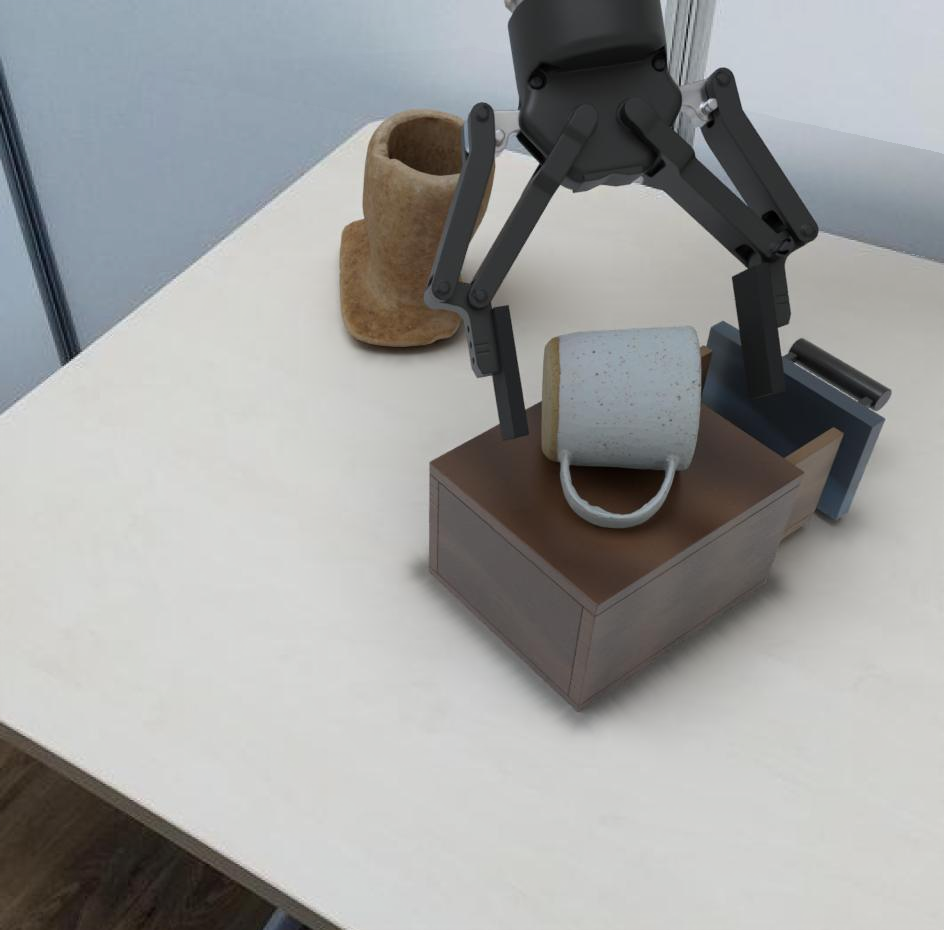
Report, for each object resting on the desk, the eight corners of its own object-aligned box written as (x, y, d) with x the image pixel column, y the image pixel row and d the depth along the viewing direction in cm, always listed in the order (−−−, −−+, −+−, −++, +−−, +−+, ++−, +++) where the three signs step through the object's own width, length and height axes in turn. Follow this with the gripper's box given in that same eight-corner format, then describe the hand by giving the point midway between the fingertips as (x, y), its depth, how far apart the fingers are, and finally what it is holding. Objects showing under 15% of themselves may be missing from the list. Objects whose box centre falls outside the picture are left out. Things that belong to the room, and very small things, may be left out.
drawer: (755, 381, 81) (781, 287, 75) (903, 475, 75) (945, 380, 69) (545, 504, 75) (556, 412, 69) (687, 620, 68) (713, 529, 62)
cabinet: (608, 468, 78) (627, 353, 70) (764, 587, 70) (805, 472, 63) (428, 574, 72) (428, 461, 65) (577, 715, 65) (597, 605, 57)
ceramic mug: (535, 405, 68) (545, 297, 62) (674, 406, 67) (698, 298, 61) (539, 535, 61) (551, 428, 55) (694, 538, 60) (723, 431, 54)
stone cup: (491, 356, 86) (502, 173, 75) (337, 360, 87) (324, 180, 76) (480, 245, 96) (488, 69, 85) (341, 250, 97) (331, 76, 86)
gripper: (780, -3, 61) (832, 386, 63) (330, 61, 59) (397, 460, 61) (854, -76, 54) (911, 367, 56) (343, -5, 52) (419, 451, 54)
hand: (642, 417), depth 58 cm, fingers open, 13 cm apart
